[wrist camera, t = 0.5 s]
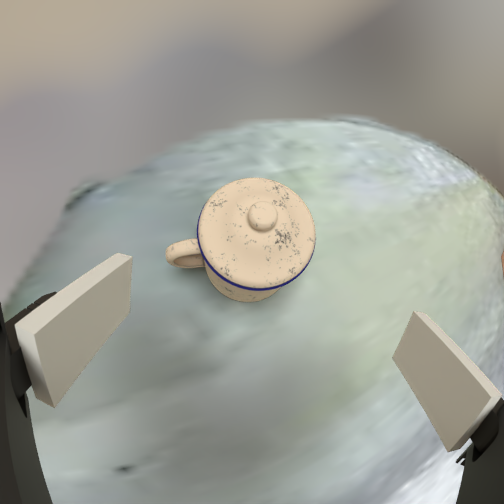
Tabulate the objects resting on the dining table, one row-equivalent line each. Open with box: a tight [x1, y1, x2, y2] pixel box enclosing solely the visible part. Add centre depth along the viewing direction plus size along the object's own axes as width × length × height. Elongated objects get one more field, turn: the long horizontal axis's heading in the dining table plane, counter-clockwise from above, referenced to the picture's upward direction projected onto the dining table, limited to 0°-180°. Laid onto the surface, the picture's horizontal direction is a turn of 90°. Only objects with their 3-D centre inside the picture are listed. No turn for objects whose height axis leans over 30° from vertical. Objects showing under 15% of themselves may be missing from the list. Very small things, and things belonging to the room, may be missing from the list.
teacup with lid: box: [166, 178, 316, 302], centre depth 24 cm, size 12×9×12 cm
